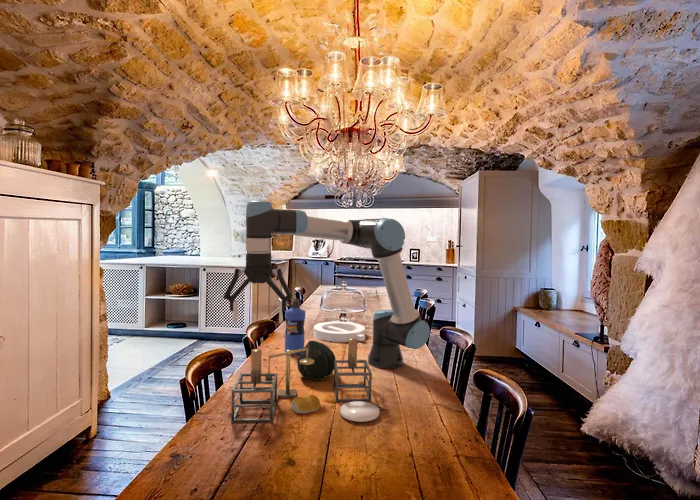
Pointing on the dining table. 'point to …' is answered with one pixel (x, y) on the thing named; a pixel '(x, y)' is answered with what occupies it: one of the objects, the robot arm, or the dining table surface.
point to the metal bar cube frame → (352, 373)
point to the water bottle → (294, 327)
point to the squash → (317, 361)
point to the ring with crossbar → (339, 331)
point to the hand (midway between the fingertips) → (258, 322)
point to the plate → (359, 411)
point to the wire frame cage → (254, 389)
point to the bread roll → (305, 404)
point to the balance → (288, 372)
